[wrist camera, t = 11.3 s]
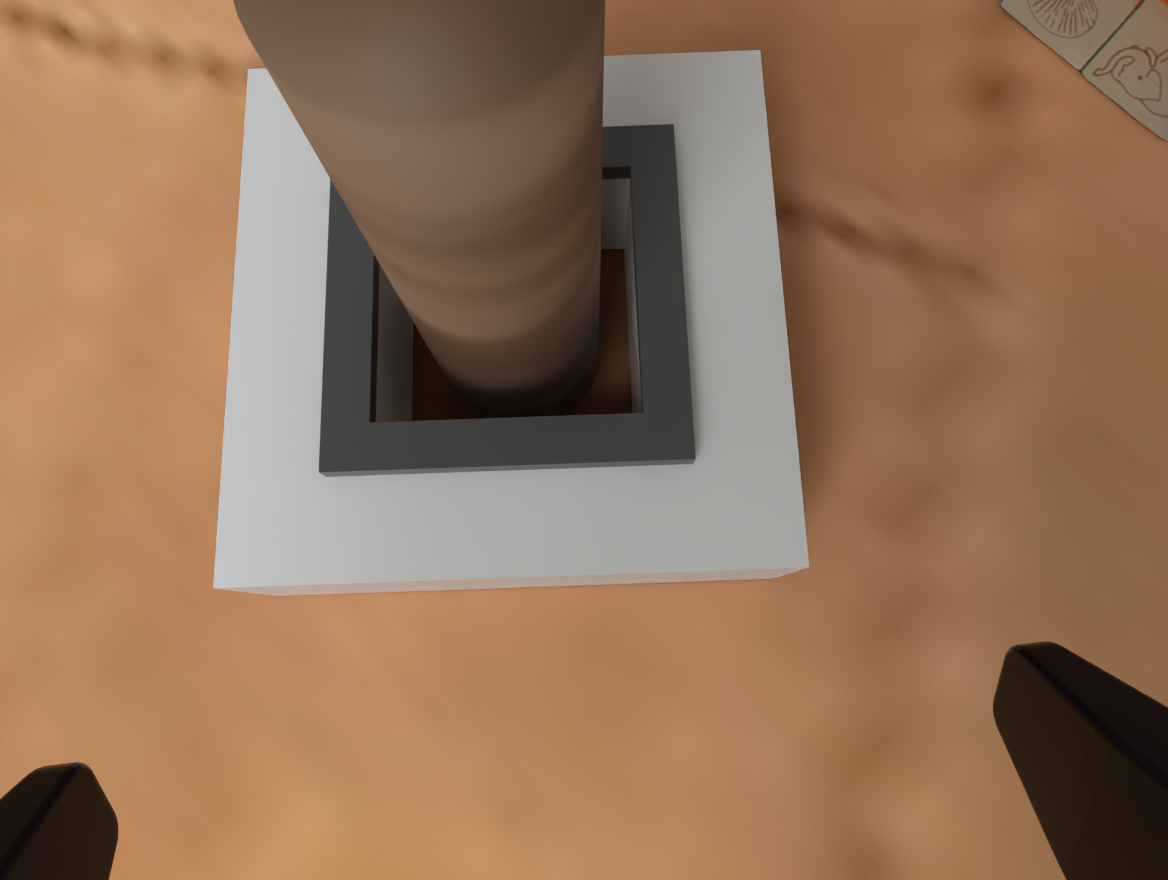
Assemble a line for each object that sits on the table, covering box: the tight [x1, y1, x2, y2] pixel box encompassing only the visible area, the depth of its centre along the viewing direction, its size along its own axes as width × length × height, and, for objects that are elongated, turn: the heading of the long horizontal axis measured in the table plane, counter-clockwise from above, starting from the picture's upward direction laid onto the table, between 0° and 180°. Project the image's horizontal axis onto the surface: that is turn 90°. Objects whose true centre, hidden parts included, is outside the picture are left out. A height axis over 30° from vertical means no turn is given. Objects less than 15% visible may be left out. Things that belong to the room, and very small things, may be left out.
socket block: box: [213, 50, 809, 596], centre depth 20 cm, size 12×12×4 cm
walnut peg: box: [233, 0, 605, 419], centre depth 15 cm, size 4×4×13 cm
